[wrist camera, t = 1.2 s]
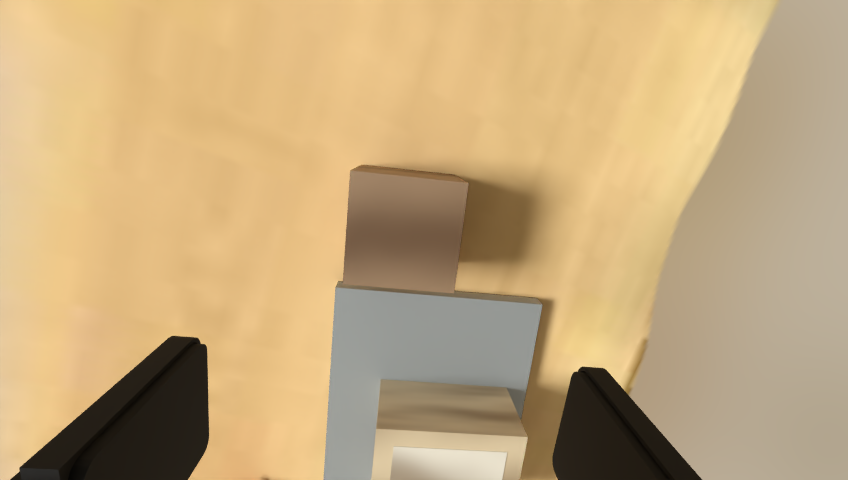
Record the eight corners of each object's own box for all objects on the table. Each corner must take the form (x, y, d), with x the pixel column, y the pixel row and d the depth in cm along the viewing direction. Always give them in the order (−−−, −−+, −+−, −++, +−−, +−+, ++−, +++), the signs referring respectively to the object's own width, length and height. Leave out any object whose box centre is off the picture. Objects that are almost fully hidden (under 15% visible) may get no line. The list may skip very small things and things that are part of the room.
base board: (338, 281, 27) (335, 287, 26) (536, 298, 28) (542, 304, 27) (323, 518, 32) (320, 532, 31) (494, 524, 33) (498, 538, 32)
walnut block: (361, 164, 26) (350, 170, 20) (453, 174, 26) (468, 183, 20) (355, 254, 27) (342, 284, 21) (442, 262, 27) (453, 293, 22)
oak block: (380, 379, 28) (376, 429, 23) (506, 387, 28) (528, 437, 24) (370, 485, 30) (364, 553, 25) (488, 491, 31) (504, 557, 26)
